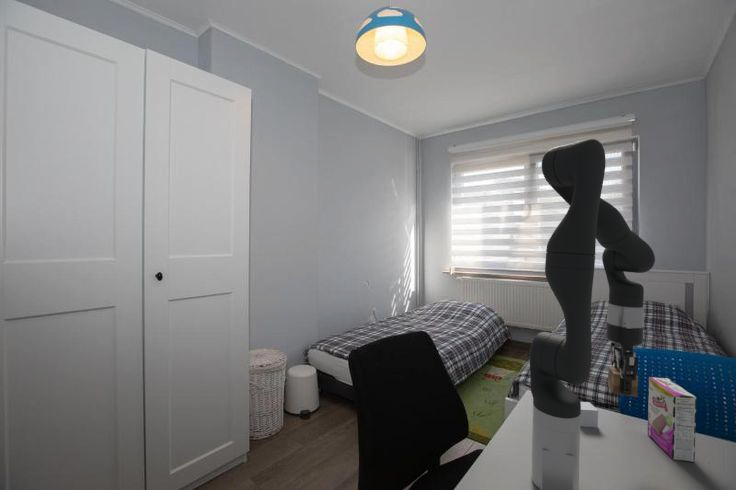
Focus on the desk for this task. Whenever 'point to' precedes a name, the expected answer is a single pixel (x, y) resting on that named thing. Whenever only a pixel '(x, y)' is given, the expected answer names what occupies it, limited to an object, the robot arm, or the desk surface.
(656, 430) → the candy bar box
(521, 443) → the desk surface
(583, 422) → the grey block
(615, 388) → the walnut block
